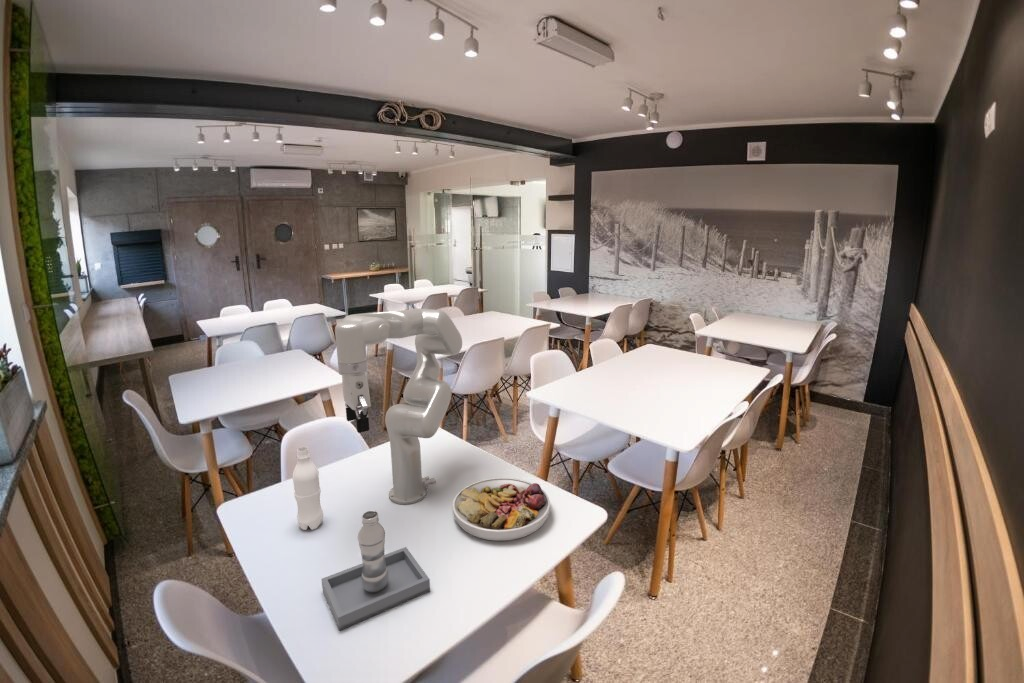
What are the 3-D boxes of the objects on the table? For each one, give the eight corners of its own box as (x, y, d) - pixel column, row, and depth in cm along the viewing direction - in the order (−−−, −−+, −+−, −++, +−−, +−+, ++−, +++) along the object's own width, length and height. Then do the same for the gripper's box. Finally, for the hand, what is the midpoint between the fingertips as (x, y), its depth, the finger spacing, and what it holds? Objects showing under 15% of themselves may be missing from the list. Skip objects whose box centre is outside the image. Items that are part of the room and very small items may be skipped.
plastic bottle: (394, 580, 125) (389, 509, 121) (379, 599, 119) (373, 525, 114) (372, 575, 127) (366, 505, 123) (356, 593, 121) (349, 520, 116)
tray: (406, 558, 135) (406, 546, 134) (430, 591, 123) (429, 578, 122) (322, 591, 123) (321, 578, 123) (339, 631, 111) (338, 617, 110)
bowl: (478, 559, 135) (478, 534, 133) (438, 506, 160) (437, 484, 159) (569, 526, 149) (569, 503, 147) (518, 482, 175) (518, 462, 173)
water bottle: (315, 533, 146) (306, 455, 140) (293, 531, 147) (283, 453, 142) (328, 519, 153) (320, 444, 147) (307, 517, 154) (299, 442, 148)
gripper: (377, 372, 131) (381, 432, 135) (357, 357, 145) (361, 413, 149) (348, 377, 127) (353, 439, 131) (330, 362, 141) (335, 418, 145)
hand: (357, 425), depth 140 cm, fingers open, 9 cm apart
